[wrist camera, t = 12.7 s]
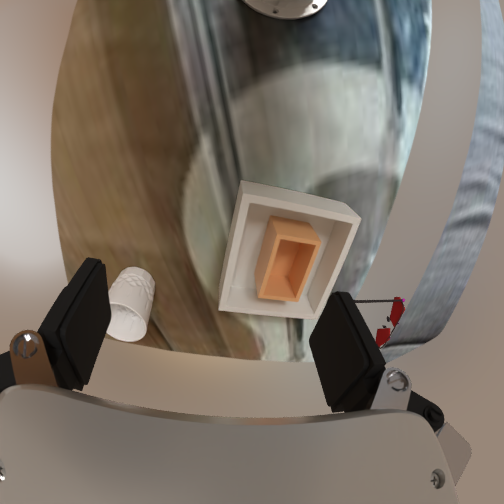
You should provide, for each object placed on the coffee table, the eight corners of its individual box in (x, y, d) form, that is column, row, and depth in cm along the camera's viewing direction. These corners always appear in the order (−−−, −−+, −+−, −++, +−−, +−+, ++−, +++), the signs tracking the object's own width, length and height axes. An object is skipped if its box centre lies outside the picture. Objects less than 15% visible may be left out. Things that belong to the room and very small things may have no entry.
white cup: (166, 295, 45) (155, 338, 36) (129, 304, 45) (114, 344, 37) (146, 258, 41) (129, 297, 32) (108, 269, 41) (86, 307, 33)
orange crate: (269, 215, 38) (277, 233, 33) (309, 222, 39) (321, 241, 34) (254, 273, 43) (258, 297, 38) (289, 278, 44) (298, 302, 39)
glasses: (375, 337, 57) (383, 352, 53) (312, 342, 55) (318, 359, 51) (399, 291, 50) (411, 306, 46) (331, 291, 48) (340, 309, 44)
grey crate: (240, 179, 36) (243, 193, 31) (344, 202, 39) (361, 218, 34) (218, 285, 45) (218, 310, 40) (308, 296, 48) (317, 319, 42)
